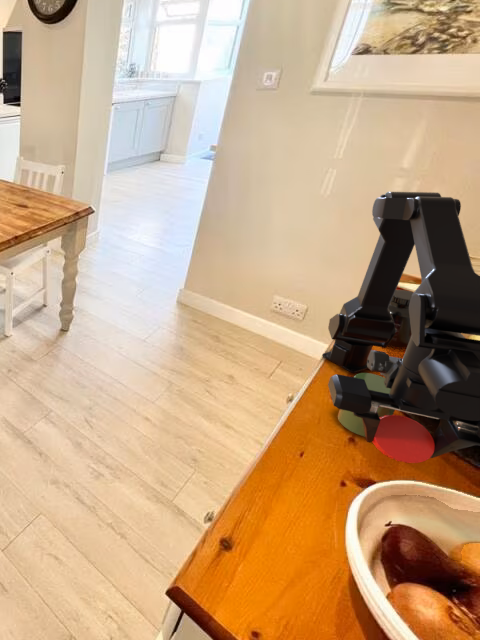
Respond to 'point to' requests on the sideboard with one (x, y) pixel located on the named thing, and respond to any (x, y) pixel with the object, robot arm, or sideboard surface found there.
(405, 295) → the supplement bottle
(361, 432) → the jam jar
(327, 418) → the sideboard surface
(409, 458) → the lid
